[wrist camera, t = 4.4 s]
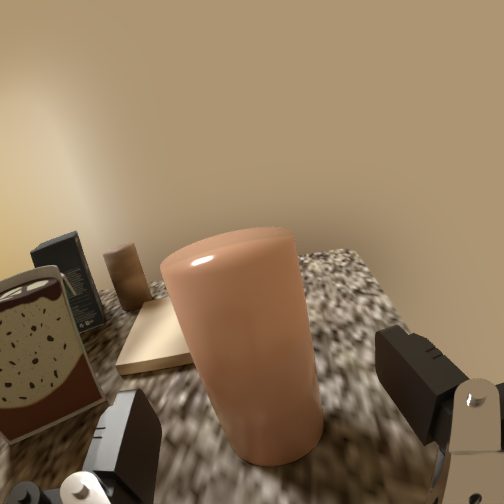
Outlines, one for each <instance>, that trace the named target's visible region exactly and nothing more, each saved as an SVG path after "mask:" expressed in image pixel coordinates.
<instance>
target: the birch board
mask: <svg viewBox="0 0 504 504" xmlns="http://www.w3.org/2000/svg"><path fill="white" fill-rule="evenodd" d="M191 363H194V361H193V359H192V356H191V353H190V351H189V348H188V346H187V343H186V341H185V338H184V335H183V333H182V330H181V327H180V325H179V322H178V319H177V316H176V314H175V311H174V308H173V305H172V302H171V299H170V296H169V297H165V298H161V299H156V300H152V301H148V302H144V304H143V306H142V308H141V310H140V312H139V314H138V316H137V318H136V320H135V323H134V325H133V327H132V329H131V331H130V333H129V335H128V338H127V340H126V342H125V344H124V346H123V349H122V351H121V353H120V355H119V358H118V360H117V362H116V364H115V366H116V368H117V370H118V372H119V374H120V375H127V374H133V373H140V372H146V371H152V370H158V369H164V368H170V367H175V366H181V365H186V364H191Z"/></svg>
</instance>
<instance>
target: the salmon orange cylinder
mask: <svg viewBox="0 0 504 504" xmlns="http://www.w3.org/2000/svg"><path fill="white" fill-rule="evenodd" d="M160 270H161V273H162V276H163V278H164V282H165V285H166V288H167V291H168V294H169V296H170V299H171V302H172V305H173V308H174V311H175V314H176V316H177V319H178V322H179V325H180V327H181V330H182V333H183V335H184V338H185V341H186V343H187V346H188V348H189V351H190V353H191V356H192V359H193V361H194V364H195V366H196V368H197V371H198V373H199V376H200V378H201V381H202V383H203V385H204V388H205V390H206V392H207V395H208V397H209V399H210V402H211V404H212V406H213V408H214V411H215V413H216V415H217V417H218V420H219V422H220V424H221V426H222V428H223V430H224V432H225V435H226V437H227V439H228V441H229V443H230V445H231V447H232V449H233V450H234V452H235V453H236V454H237V455H238V456H239V457H240V458H242V459H243V460H245V461H247V462H249V463H252V464H255V465H260V466H279V465H284V464H288V463H291V462H293V461H296V460H298V459H300V458H302V457H303V456H305V455H306V454H308V453H309V452H310V451H311V450H312V449H313V448H314V447H315V446H316V445H317V443H318V442H319V440H320V438H321V436H322V433H323V429H324V422H323V414H322V407H321V399H320V392H319V384H318V377H317V370H316V363H315V357H314V350H313V343H312V337H311V331H310V324H309V318H308V312H307V306H306V300H305V295H304V289H303V283H302V277H301V272H300V266H299V261H298V255H297V250H296V245H295V240H294V234H293V232H292V231H290V230H288V229H285V228H280V227H258V228H249V229H244V230H237V231H232V232H228V233H224V234H220V235H216V236H213V237H209V238H206V239H203V240H201V241H198V242H195V243H193V244H190V245H188V246H186V247H184V248H182V249H180V250H178V251H176V252H174V253H173V254H171V255H170V256H168V257H167V258H166V259H165V260H164V261H163V262H162V263H161V266H160Z"/></svg>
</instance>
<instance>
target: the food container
mask: <svg viewBox="0 0 504 504" xmlns="http://www.w3.org/2000/svg"><path fill="white" fill-rule="evenodd" d="M66 291H68V292H71V293H73V294H74V295H76V292H75V291H74V289H73V288H72V286H71V284H70V283H69V281H68V280H67V278H66V276H65V275H64V274H62V273H60V271H59V269H58V267H57V266H55V265H48V266H42V267H38V268H34V269H31V270H28V271H25V272H22V273H20V274H17V275H14V276H11V277H9V278H7V279H4V280H2V281H0V435H1V436H2V437H3V439H4V440H5V441H6V442H7V443H8V444H9V445H11V444H14V443H16V442H19V441H21V440H23V439H25V438H28V437H30V436H32V435H35V434H37V433H39V432H41V431H44V430H46V429H48V428H50V427H52V426H54V425H57V424H59V423H61V422H63V421H65V420H67V419H69V418H71V417H74V416H76V415H78V414H80V413H82V412H84V411H86V410H88V409H90V408H92V407H94V406H96V405H98V404H100V403H102V402H104V401H106V398H105V395H104V393H103V391H102V389H101V387H100V384H99V382H98V380H97V377H96V375H95V373H94V370H93V368H92V366H91V363H90V361H89V358H88V356H87V353H86V350H85V348H84V345H83V343H82V340H81V337H80V334H79V331H78V329H77V326H76V323H75V320H74V317H73V314H72V311H71V307H70V304H69V301H68V298H67V294H66Z"/></svg>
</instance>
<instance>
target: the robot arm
mask: <svg viewBox="0 0 504 504" xmlns="http://www.w3.org/2000/svg"><path fill="white" fill-rule="evenodd" d="M375 367H376V373H377V376H378V379H379V381H380V383H381V384H382V386H383V387H384V389H385V390H386V391H387V393H388V394H389V396H390V397H391V399H392V400H393V401H394V403H395V404H396V406H397V407H398V409H399V410H400V412H401V413H402V414H403V416H404V417H405V419H406V420H407V422H408V423H409V425H410V426H411V428H412V429H413V430H414V432H415V433H416V435H417V436H418V438H419V439H420V441H421V442H422V444H423V445H424V446H425V445H427V444H429V443H431V442H433V441H436V443H437V444H438V445H439V447H438V450H437V455H436V460H435V465H434V470H433V474H432V479H431V483H430V487H429V491H428V495H427V498H426V501H425V504H504V383H501V384H498V385H494V384H493V383H491V382H490V381H487V380H485V379H469V378H468V377H467V376H466V375H465V374H464V373H463V372H462V371H461V370H460V369H459V368H458V367H457V366H455V365H454V364H453V363H452V362H451V361H450V360H449V359H448V358H447V357H446V356H445V355H443V354H442V352H441V351H440V350H439V349H438V348H435V346H434V345H433V344H432V343H431V342H430V341H429V340H427V338H424V337H422V336H420V335H417V334H415V333H413V334H410V335H408V334H407V333H406V332H405V331H404V330H403V329H402V328H401V327H400V326H399V325H394V326H391V327H388V328H386V329H383V330H380V331H377V332H376V334H375ZM93 437H94V439H92V442H91V444H90V447H89V450H88V453H87V456H86V459H85V462H84V465H83V468H82V471H81V472H76V473H74V474H72V475H70V476H68V477H67V478H66V479H65V480H64V482H63V483H62V485H61V488H57V489H51V490H45V491H42V490H41V489H40V488H39V487H38V486H37V485H36V484H35V483H33V482H30V481H23V482H21V483H18V484H17V485H16V486H15V487H14V488H13V489H12V490H11V492H10V495H9V498H8V500H7V503H6V504H153V500H154V491H155V482H156V474H157V467H158V459H159V452H160V445H161V438H162V428H161V424H160V421H159V419H158V417H157V415H156V414H155V412H154V410H153V408H152V407H151V405H150V403H149V401H148V400H147V398H146V396H145V394H144V393H143V391H142V390H141V389H133V390H125V391H119V392H118V394H117V396H116V399H115V402H114V405H113V406H109V407H108V408H107V410H106V411H105V412H104V413H103V414H102V416H101V417H100V420H99V422H98V425H97V430H95V433H94V436H93Z"/></svg>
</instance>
